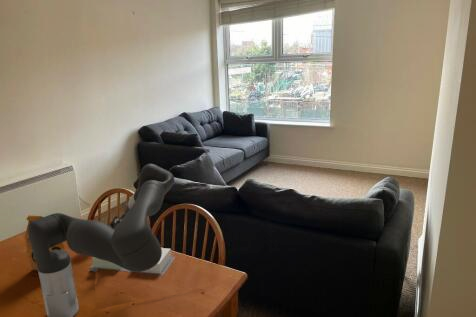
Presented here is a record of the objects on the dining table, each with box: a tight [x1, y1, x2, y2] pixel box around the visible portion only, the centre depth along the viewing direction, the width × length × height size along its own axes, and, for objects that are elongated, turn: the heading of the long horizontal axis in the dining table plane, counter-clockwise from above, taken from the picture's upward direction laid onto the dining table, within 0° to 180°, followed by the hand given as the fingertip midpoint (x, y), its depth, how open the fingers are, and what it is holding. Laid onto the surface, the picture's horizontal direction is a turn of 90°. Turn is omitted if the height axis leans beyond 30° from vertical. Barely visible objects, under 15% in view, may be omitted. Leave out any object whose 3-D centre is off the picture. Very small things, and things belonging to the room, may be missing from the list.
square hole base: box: [89, 247, 176, 276], centre depth 142 cm, size 30×12×6 cm, turn 78°
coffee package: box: [24, 215, 66, 272], centre depth 140 cm, size 10×12×22 cm
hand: (125, 226), depth 134 cm, fingers open, 8 cm apart
